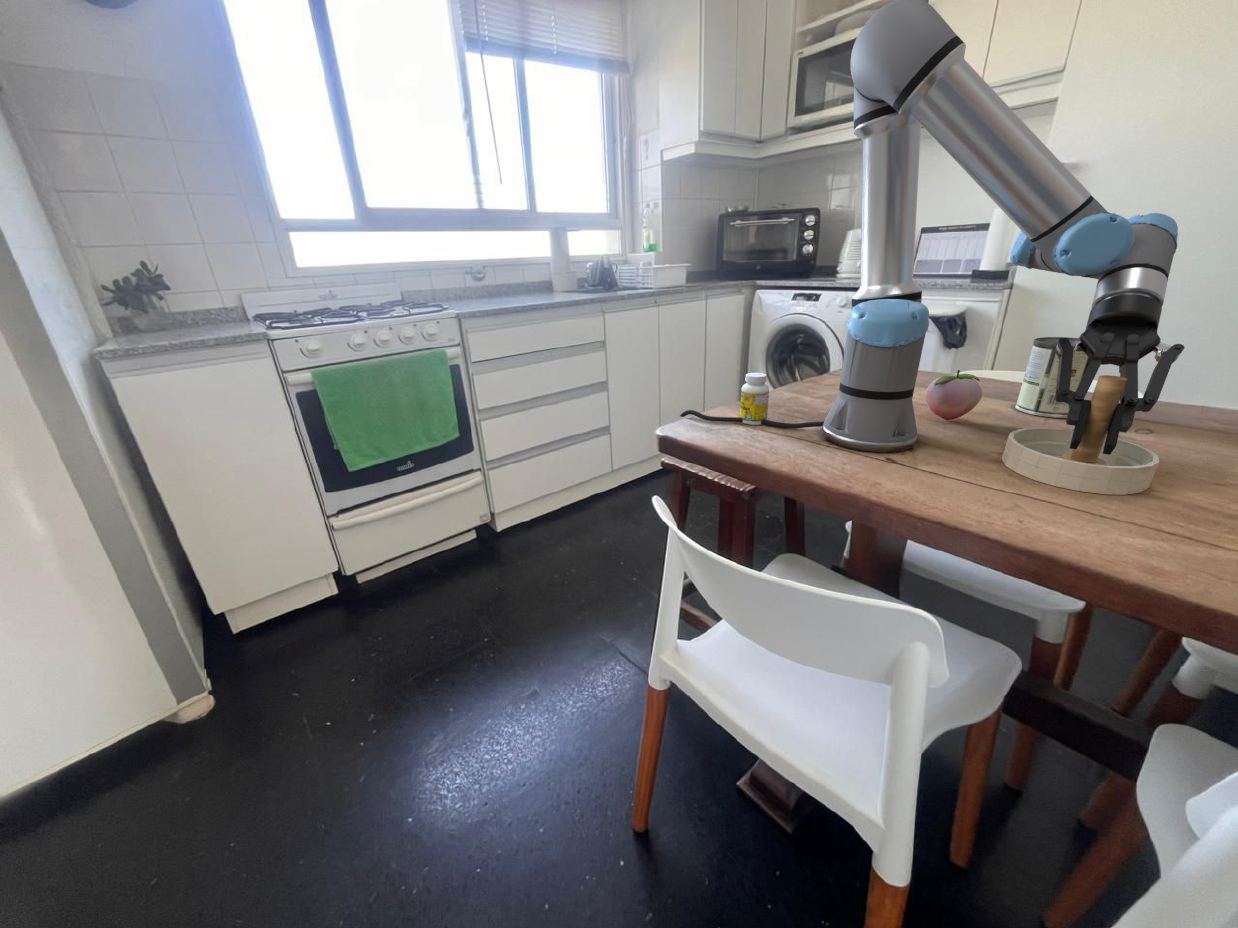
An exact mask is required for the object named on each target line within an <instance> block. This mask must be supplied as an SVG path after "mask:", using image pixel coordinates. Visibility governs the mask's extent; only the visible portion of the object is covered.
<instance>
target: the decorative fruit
mask: <svg viewBox="0 0 1238 928" xmlns="http://www.w3.org/2000/svg"><path fill="white" fill-rule="evenodd" d="M960 372H961V370H960V369H958V370H957V372H956V374H950V375H949V374H948V375H943V376H940V377H937V378H936V379H934V380H933V381H932V382H930V384H929V385H928V387H927V388H926V392H925V401H926V404H927V406H928V408H929V409H930V411H931V412H932V413H933V414H934V415H936V416H937V417H939V418H941V419H943V420H944V421H952V420H955V419H958V418H961V417H964V415H966V414H968V413H969V412H971V411H972V410H973V409H974V408H976V406H977V405H978V404H979V403H980V402H981V399H982V397H983V389H982V387H981V385H980V384H979V383H978V382H980V380H981V379H980V378H979V377H978V376H976V375H974V374H970V373H960ZM977 381H978V382H977Z"/></svg>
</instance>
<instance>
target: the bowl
mask: <svg viewBox="0 0 1238 928" xmlns="http://www.w3.org/2000/svg"><path fill="white" fill-rule="evenodd" d="M1073 432H1074V429H1069V428H1058V427H1057V428H1056V427H1027V428H1026V427H1025V428H1018V429H1016V430H1013V431H1010V433H1009V434H1008V437H1007V440H1006V444H1005V447H1004V450H1003V454H1002V457H1001V461H1002V463H1003V464H1004V466H1005V467H1006V468H1008V469H1010V470H1011V471H1013V472H1015V473H1016V474H1018V475H1021V476H1023V477H1025V478H1027V479H1030V480H1032V481H1036V482H1039V483H1042V484H1046V485H1049V486H1051V487H1052V486H1053V487H1057V488H1061V489H1067V490H1071V491H1076V492H1082V493H1089V494H1090V493H1091V494H1097V495H1098V494H1099V495H1111V496H1112V495H1117V496H1126V495H1134V494H1139V493H1143V492H1144V491H1146V490H1148V489H1149V488H1150V486H1151V484H1152V481H1153V478H1154V476H1155V474H1156V471H1157V470H1158V467H1159V464H1160V457H1159V455H1158V454H1156V453H1155V452H1154V451H1152V450H1151V449H1149V448H1146V447H1144V446H1142V445H1139V444H1137V443H1135V442H1132V441H1128V440H1124V439H1121V438H1118V440H1117V445H1116V447H1115V448H1114V450H1113V451H1112V453H1111V454H1110V455H1108V454H1103V450H1104V445H1105V441H1106V438H1105V440H1104V443H1103V446H1102V448H1101V451H1100V454H1099V456H1098V458H1100V459H1102V460H1104V461H1105V462H1106V463H1107V465H1097V464H1088V463H1082V462H1077V461H1071V460H1066V459H1061V458H1060V457H1061V455H1062V454H1065V453H1072V452H1073V449H1069V448H1070V444H1071V440H1072V436H1073ZM1106 437H1107V435H1106Z"/></svg>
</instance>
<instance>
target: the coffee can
mask: <svg viewBox="0 0 1238 928" xmlns="http://www.w3.org/2000/svg"><path fill="white" fill-rule="evenodd" d="M1064 337H1065V338H1068V339H1069V340H1071V339H1075V338H1076V337H1067V336H1045V337H1036V338H1034V339H1033V341H1032V343H1033V344H1032V348H1031V351H1030V355H1029V358H1028V361H1027V366H1026V369H1025V373H1024V377H1023V380H1022V383H1021V387H1020V390H1019V394H1018V397H1017V401H1016V404H1015V406H1014V408H1015V409H1016V410H1017V411H1019V412H1022V413H1024V414H1029V415H1033V416H1038V417H1044V418H1053V419H1054V418H1055V419H1066V418H1067V415H1068V411H1069V405H1068V404H1067V403H1065V402H1057V401H1056V400H1055V394H1056V385H1057V376H1058V367H1059V358H1058V356H1057V354H1056V352H1055V349H1056V347H1057V344H1058V341H1059V339H1060V338H1064ZM1090 361H1091V360H1090V359H1089V357H1088V356H1087V355H1086V354H1085V353H1084V351H1083V350H1082V349H1081V348H1080V347H1077V350H1076V352H1075V353H1074V354H1073V362H1072V372H1071V382H1070V390H1071V391H1074V392H1076V390H1077V388H1078V386H1079V384H1080V382H1081V380H1082V378H1083V376H1084V373H1085V371H1086V369H1087V367H1088V365H1089V363H1090Z"/></svg>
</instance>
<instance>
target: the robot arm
mask: <svg viewBox="0 0 1238 928" xmlns="http://www.w3.org/2000/svg"><path fill="white" fill-rule="evenodd" d="M966 48H967V44H966V43H965V41H964V40H962V38H961V37H960V36H958V34H957V33H956V32H955V31H954V30H953V29H952V27H951V26H950V25H949V24H948V22H947V21H946V20H945V19H944V18H943V16H941V14H940V13H939V12H938V11H937V9H936V8H934V7H933V5H932V4H930V3H929V2H927V1H925V0H893V1H891V2H888V3H887V4H885V5H883V6H882V7H880V8H879V9H878V10H876V12H874V13H873V14H872V15H871V16H870V17H869V19H867V20H866V22H865V23H864V25H863V26H862V28H861V29H860V30H859V32H858V35H857V37H856V38H855V41H854V43H853V47H852V50H851V55H850V75H851V80H852V83H853V134H854V135H855V136H856V137H857V138H858V139H860V140H861V142H862V177H861V180H862V181H861V182H862V183H861V229H860V230H861V232H860V234H861V236H860V237H861V238H860V239H861V240H860V285H859V288H858V290H856V292H855V293H853V295H851V304H850V305H851V307H850V308H851V309H850V313H849V318H848V320H847V323H846V329H847V332H846V338H845V339H846V340H845V347H844V353H843V360H842V367H841V373H840V380H839V387H838V393H837V396H836V397H835V399H834V402H833V403H832V406H831V407H830V409H829V411H828V413H827V415H826V417H825V420H824V421H823V420H821V421H808V422H807V421H806V422H798V423H796V422H795V423H791V422H790V423H789V422H780V421H774V420H769V419H767V420H762V421H761V424H760V425H766V426H770V427H776V428H784V429H803V428H804V429H805V428H817V427H822V430H821V431H822V432H821V434H822V437H823V438H824V439H826V440H827V441H829V442H830V443H833V444H835V445H837V446H839V447H844V448H847V449H852V450H856V451H863V452H871V453H874V452H875V453H895V452H896V453H897V452H903V451H906V450H909V449H912V448H913V447H914V445H915V444H916V442H917V438H918V428H917V427H918V426H917V421H916V416H915V410H914V403H913V397H914V392H915V388H916V382H917V379H918V372H919V369H920V364H921V363H920V362H921V358H922V353H923V348H924V343H925V340H926V339H925V338H926V333H928V330H929V327H930V319H929V317H930V310H929V308H928V307H927V305H925V304H924V303H922V299H923V288H922V287H921V286H920V285H918V284H917V283H916V282H915V280H914V271H915V270H914V268H915V249H916V248H915V247H916V245H915V244H916V227H917V212H918V211H917V210H918V192H919V191H918V190H919V173H920V171H919V169H920V155H921V154H920V152H921V151H920V150H921V131H922V127H923V128H924V129H925V130H926V131H927V132H928V133H929V134H930V136H931V137H933V139H935V141H936V142H937V143H938V144H939V145H940V146H941V147H942V148H943V149H944V150H945V151H946V152H947V153H948V154H949V156H951V158H952V159H953V160H954V161H955V162H956V163H957V164H958V165H959V166H960V167H961V168H962V170H964V171H965V173H966V174H967V175H968V176H969V177H970V178H971V179H972V180H973V181H974V182H975V183H976V184H977V185H978V186H979V187H980V188H981V189H982V190H983V192H984V193H985V194H986V195H987V196H988V197H989V198H990V199H991V200H992V202H993V203H995V204H996V205H997V206H998V208H999V209H1000V210H1002V212H1003V213H1004V214H1005V215H1006V216H1007V217H1008V218H1009V220H1011V221H1012V222H1013V223H1014V224H1015V226H1016V227H1017V228H1018V229H1019V230H1020V232H1019V234H1018V236H1017V238H1016V239H1015V241H1014V244H1013V245H1012V249H1011V252H1010V255H1009V261H1010V263H1011V264H1012V265H1014V266H1019V267H1023V268H1026V269H1028V270H1031V269H1034V270H1039V271H1045V272H1051V273H1057V274H1063V275H1067V276H1071V277H1082V278H1087V279H1089V278H1090V279H1095V280H1097V283H1096V288H1095V291H1094V296H1093V299H1092V303H1091V307H1090V311H1089V315H1088V318H1087V322H1086V326H1085V330H1084V332H1082V333H1081V334H1080V335H1079V336H1078V337H1074V338H1075V339H1071V340H1069V339H1068V338H1069V337H1068V338H1065V337H1066V336H1063V337H1064V338H1060V339H1059V341H1058V344H1057V347H1056V349H1055V352H1056V354H1057V356H1058V358H1059V367H1058V376H1057V385H1056V394H1055V400H1056V401H1057V402H1065V403H1067V404H1068V405H1069V411H1068V415H1067V418H1065V424H1066V425H1067V426H1074V428H1073V430H1074V432H1073V436H1072V440H1071V444H1070V448H1069V449H1077V447H1078V446H1079V444H1080V442H1081V440H1082V436H1083V432H1084V428H1085V424H1086V420H1087V416H1088V412H1089V407H1090V403H1091V399H1085V398H1086V396H1087V394H1088V392H1089V391H1090V387H1091V386H1092V383H1093V381H1094V379H1095V377H1096V375H1097V373H1098V371H1099V369H1100V367H1101V366H1104V365H1113V366H1116V367H1118V373H1119V377H1124V378H1127V382H1126V384H1125V387H1124V390H1123V392H1122V395H1121V398H1120V400H1119V403H1118V405H1117V408H1116V411H1115V413H1114V416H1113V419H1112V421H1111V424H1110V427H1109V429H1108V432H1107V435H1106V436H1107V437H1106V441H1105V445H1104V450H1103V454H1108V455H1110V454H1111V453H1112V451H1113V450H1114V448H1115V447H1116V445H1117V440H1118V439H1119V435H1120V433H1127V432H1129V430H1130V429H1131V428H1132V426H1133V423H1134V418H1135V414H1136V412H1142V413H1148V412H1151V411H1152V409H1153V408H1154V406H1155V405H1156V403H1157V402H1158V401H1159V398H1160V395H1161V393H1162V391H1163V388H1164V385H1165V382H1166V380H1167V378H1168V374H1169V372H1170V369H1171V367H1172V364H1173V363H1175V362H1176V361H1177V360H1178V358H1179V357H1180V355H1181V354H1182V353H1183V351H1184V350H1185V345H1184V344H1181V343H1175V344H1173V345H1170V344H1167V343H1164V342H1161V337H1160V336H1159V333H1158V329H1159V324H1160V320H1161V316H1162V311H1163V305H1164V303H1165V298H1166V292H1167V287H1168V283H1169V277H1170V272H1171V269H1172V264H1173V261H1174V257H1175V254H1176V252H1177V249H1178V237H1179V236H1178V235H1179V226H1178V223H1177V222H1176V220H1175V219H1174V218H1172V217H1171V216H1170V215H1168V214H1163V213H1159V212H1150V213H1147V214H1142V215H1140V214H1136V215H1134V216H1130V217H1129V218H1125V217H1124V216H1122V215H1119V214H1117V213H1115V212H1110V211H1108V210H1107V209H1106V208H1105V207H1104V205H1102V204H1101V203H1100V202H1099V200H1097V199H1096V198H1095V197H1094V196H1092V194H1091V193H1090V191H1089V190H1088V189H1087V188H1086V187H1085V186H1084V185H1083V184H1082V183H1081V182H1080V180H1078V178H1076V176H1074V174H1073V173H1072V172H1071V171H1070V170H1069V169H1068V168H1067V167H1066V165H1064V164H1063V163H1062V161H1061V160H1059V158H1058V157H1057V156H1056V155H1055V154H1054V153H1053V152H1052V151H1051V150H1050V149H1049V148H1048V147H1047V146H1046V145H1045V143H1044V142H1042V140H1041V139H1040V138H1039V137H1038V136H1037V135H1036V134H1035V133H1034V132H1033V131H1032V130H1031V129H1030V127H1028V125H1027V124H1026V123H1025V122H1024V121H1023V119H1021V118H1020V117H1019V116H1018V115H1017V114H1016V112H1014V111H1013V109H1012V108H1011V107H1010V106H1009V105H1008V104H1007V103H1006V102H1005V101H1004V100H1003V99H1002V98H1001V97H1000V95H998V93H997V92H996V91H995V90H994V88H992V87H991V86H990V85H989V83H987V81H985V79H984V78H983V77H981V75H980V74H979V73H978V72H977V71H976V69H974V68H973V67H972V65H970V63H969V62H967V60H966V59H965V56H966ZM1077 347H1080V348H1081V349H1082V350H1083V351H1084V353H1085V354H1086V355H1087V356H1088V357H1089V359H1090V360H1091V361H1090V363H1089V365H1088V367H1087V369H1086V371H1085V373H1084V376H1083V378H1082V380H1081V382H1080V384H1079V386H1078V388H1077V390H1076V392H1074V391H1071V390H1070V382H1071V372H1072V362H1073V354H1074V353H1075V352H1076V350H1077ZM1152 352H1154V360H1155V362H1156V365H1155V366H1154V368H1153V370H1152V373H1151V375H1150V378H1149V381H1148V383H1147V386H1146V388H1145V390H1144V393H1143V396H1142V397H1140V398H1139V360H1141V359H1142V358H1144V357H1146V356H1147V355H1149V354H1151V353H1152ZM688 415H692V416H695V417H697V418H699V419H700V420H704V421H709V422H718V423H742V422H743V419H742V418H741V417H740V416H738V417H737V416H732V417H731V416H711V415H706V414H703V413H701V412H698V411H696V410H693V409H687V410H685V411H683V412H682V413H681V414H679V417H680V418H684V417H687V416H688Z"/></svg>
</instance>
